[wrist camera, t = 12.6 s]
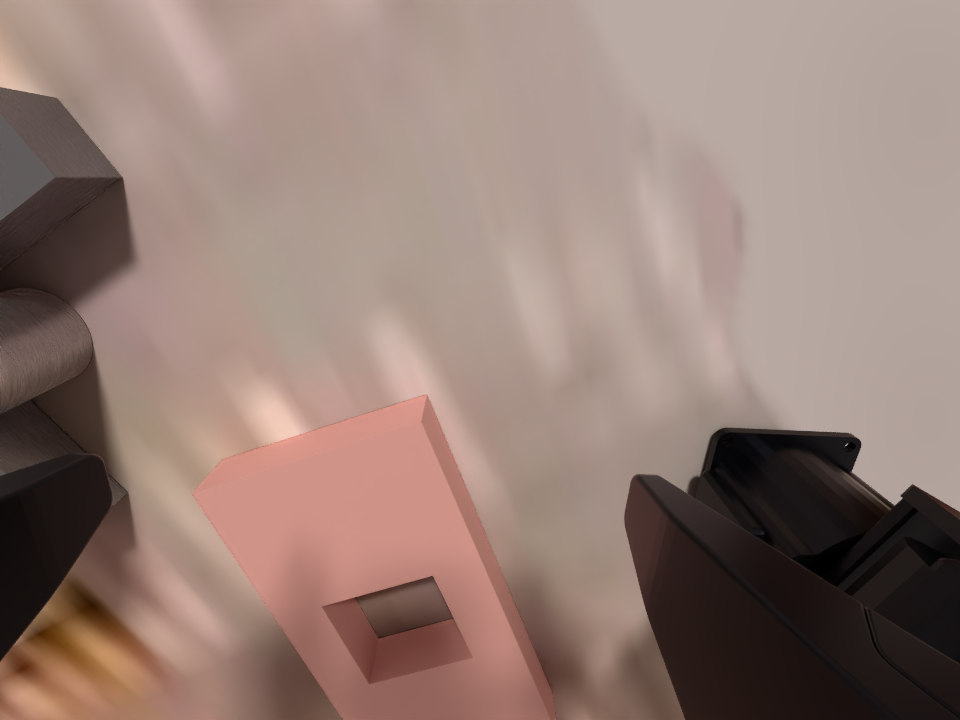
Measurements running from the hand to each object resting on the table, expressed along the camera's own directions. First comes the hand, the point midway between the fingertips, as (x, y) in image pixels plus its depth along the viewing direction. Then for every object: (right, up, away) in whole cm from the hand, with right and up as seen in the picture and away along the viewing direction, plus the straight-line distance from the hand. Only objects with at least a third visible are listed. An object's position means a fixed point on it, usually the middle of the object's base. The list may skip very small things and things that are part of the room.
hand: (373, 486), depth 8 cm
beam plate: (-2, -10, +17) cm, 19 cm away
